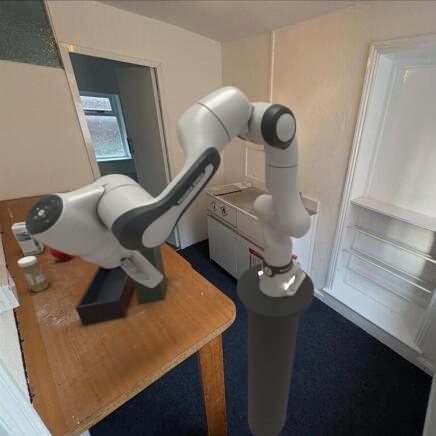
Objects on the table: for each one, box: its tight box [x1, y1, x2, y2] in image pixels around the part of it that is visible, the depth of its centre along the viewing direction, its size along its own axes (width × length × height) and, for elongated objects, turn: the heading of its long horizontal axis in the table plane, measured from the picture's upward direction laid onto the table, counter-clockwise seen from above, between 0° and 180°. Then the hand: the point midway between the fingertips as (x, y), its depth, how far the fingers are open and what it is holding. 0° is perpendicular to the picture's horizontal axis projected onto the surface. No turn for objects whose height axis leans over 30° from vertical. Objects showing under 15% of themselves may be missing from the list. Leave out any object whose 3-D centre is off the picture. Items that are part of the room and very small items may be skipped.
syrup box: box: [11, 221, 45, 257], centre depth 105 cm, size 6×6×14 cm
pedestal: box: [133, 246, 167, 305], centre depth 87 cm, size 12×8×26 cm, turn 21°
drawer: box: [75, 266, 135, 326], centre depth 89 cm, size 30×12×8 cm, turn 21°
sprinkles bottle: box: [17, 255, 50, 293], centre depth 86 cm, size 5×5×14 cm
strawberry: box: [49, 248, 71, 261], centre depth 103 cm, size 6×8×10 cm
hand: (147, 265), depth 64 cm, fingers open, 8 cm apart
